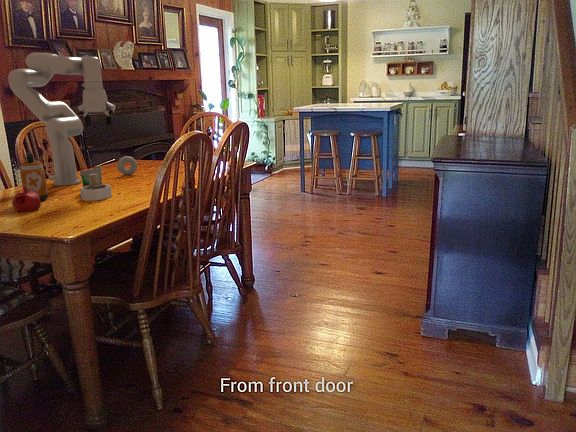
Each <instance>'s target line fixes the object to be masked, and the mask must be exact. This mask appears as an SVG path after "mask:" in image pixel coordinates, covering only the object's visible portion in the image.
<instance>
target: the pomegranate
mask: <svg viewBox="0 0 576 432" xmlns="http://www.w3.org/2000/svg"><path fill="white" fill-rule="evenodd" d="M23 189H24V190H23ZM31 191H32V190H31ZM31 191H28V189H27V190H26V186H24V187H23V186H22V189H21V190H17V191H15V196H14V198H13V199H12V203H11V204H12V207H13V208H14V209H15V210H16V211H18V212H32V211H33V212H34V211H36V210H38V209H39V208H41V203H42V202H41V201H40V197H39V195H38V194H37V193H35V192H31Z"/></svg>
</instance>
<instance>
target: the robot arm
mask: <svg viewBox="0 0 576 432" xmlns="http://www.w3.org/2000/svg"><path fill="white" fill-rule="evenodd" d="M25 64H26V66H27V68H17V69H13V70H11V71H10V72H9V74H8V76H7V77H8V79H7V80H8V84H9V87H10V90H11V91H12V93H13V94H14V95H15V96H16V98H18V99H19V100H20V101H21V102H22V103H23V104H25V106H26V107H27V108H28V109H29V110H30V111H31V112H32V114H33V115H34V116H35V117H36V118H37V119H38V120H39V121H41V122H43V123H45V126H44V127H45V132H46V135H47V138H48V140H49V144H50V145H49V146H50V150H51V155H52V162H53V170H54V175H48V180H49V181H53V182H52V184H53V186H57V187H64V186H66V187H67V186H72V185H73V186H74V185H78V184H81V183H82V179H80V178H78V173H77V167H76V166H77V165H76V161H75V154H74V147H73V144H72V142H71V141H70V140H69V138H71V137H75V136H79V135H81V134H82V133H83V131H84V125H83V122H82V120H81V118H79V116H78V115H77V114H76V113H75V112H74V111H73V109H71V107H69V105H68V104H66V103H65V102H63V101H61V100H60V101H59V100H53V101H51V100H47V99H46V98H45V97H44V96H43V95H42V94H41V93H40V92H39V91H37V90H36V89H34V88H41V87H44V86H46V85H47V84H48V83H49V82H50V80H51V79H52V78H53V77H54V75H63V76H65V75H66V76H82V77H83V83H82V84H81V87H82V88H84V89H83V90H82V104H79V106H77V110H78V112H79V114H81V115H82V117H84V122H85V125H86V126H87V127H88V126H89V127H90V126H91V125H92V123H91V122H92V121H91V116H90V115H91V113H104V115H106V116H105V121H106V126H112V123H113V121H112V115H113V114H114V113H115V110H116V105H114V104H112V103H110V102H109V101H108V96H107V93H106V90H105V88H104V85H103V77H102V70H101V61H100V59H99V58H98V57H97V56H84V57H78V56H60V55H58V54H56V53H50V52H31V53H29V54H28V55H26V57H25Z"/></svg>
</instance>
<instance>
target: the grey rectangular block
mask: <svg viewBox="0 0 576 432" xmlns="http://www.w3.org/2000/svg"><path fill="white" fill-rule="evenodd" d="M89 181H90V187H99V186H101V185H100V177H99V174H91V175H89Z"/></svg>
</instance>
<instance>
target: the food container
mask: <svg viewBox="0 0 576 432" xmlns="http://www.w3.org/2000/svg"><path fill="white" fill-rule="evenodd" d="M103 171H104V170H103V169H102V168H101V166H94V168H92V169H91V168H90V169H86V170H80V172H79V176H80V178H81V183H82V187H84V186H89V185H90V181H89V175H91V174H99V177H100V184H103V182H102V181H103V180H102V174H103Z"/></svg>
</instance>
